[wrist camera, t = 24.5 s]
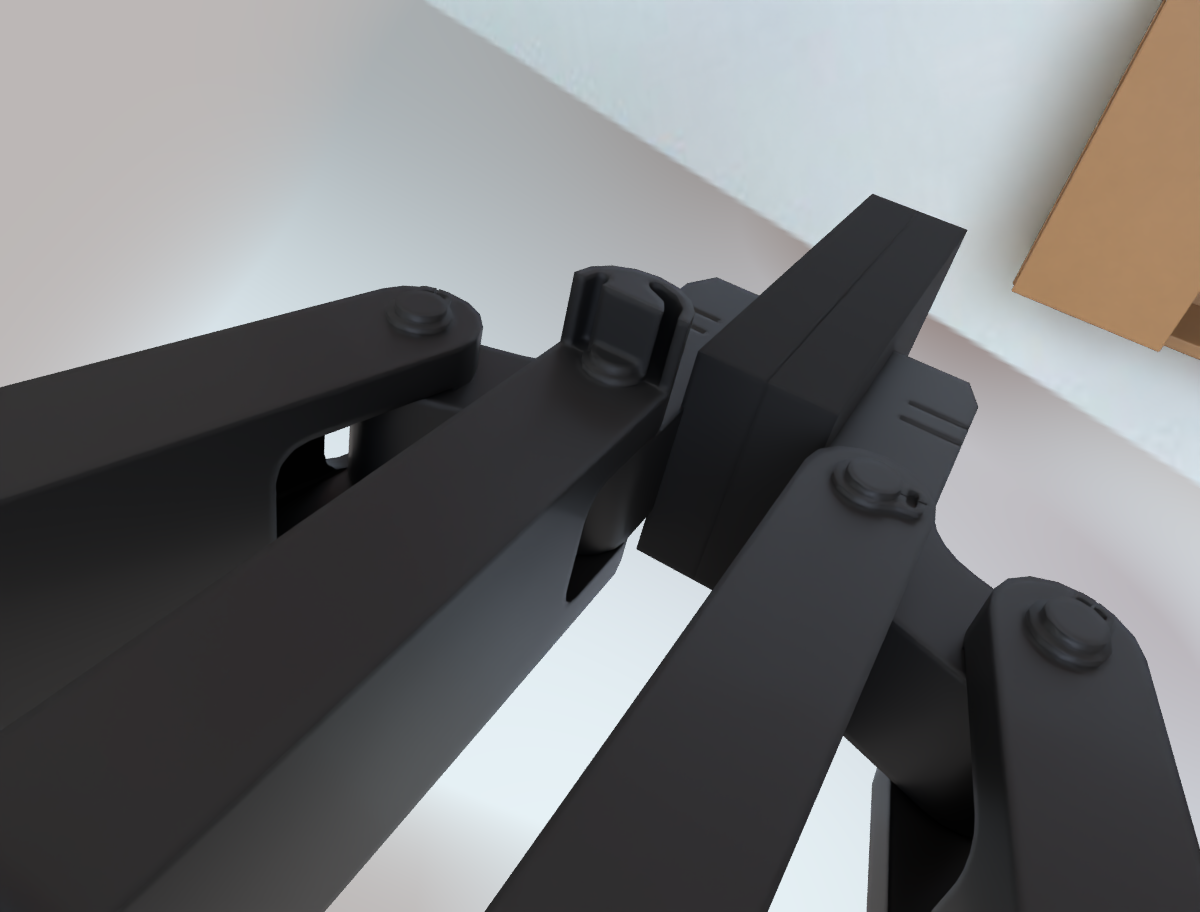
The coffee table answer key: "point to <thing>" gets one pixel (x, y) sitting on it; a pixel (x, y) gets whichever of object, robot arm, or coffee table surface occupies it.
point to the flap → (1133, 199)
